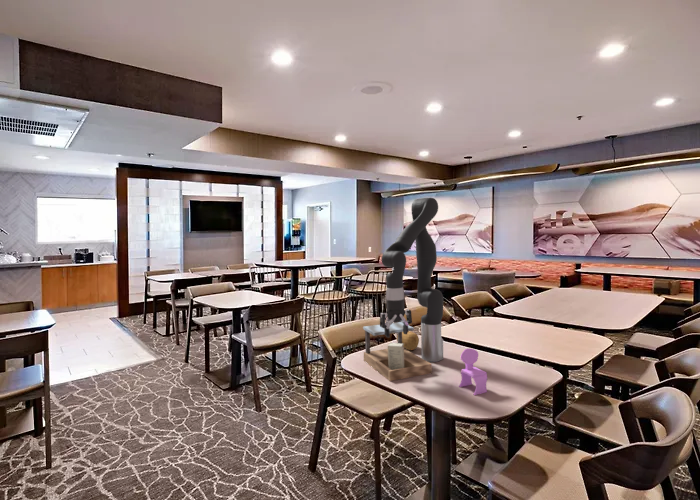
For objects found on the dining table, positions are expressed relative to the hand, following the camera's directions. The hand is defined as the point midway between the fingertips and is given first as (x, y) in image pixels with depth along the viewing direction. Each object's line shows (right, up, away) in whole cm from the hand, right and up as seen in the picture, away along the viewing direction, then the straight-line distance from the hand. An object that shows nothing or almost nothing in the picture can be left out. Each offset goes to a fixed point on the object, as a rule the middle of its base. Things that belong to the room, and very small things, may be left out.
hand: (396, 335), depth 158 cm
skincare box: (0, -16, +1) cm, 16 cm away
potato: (+10, -14, +33) cm, 37 cm away
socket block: (+1, -16, +7) cm, 17 cm away
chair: (+27, -17, -18) cm, 36 cm away
